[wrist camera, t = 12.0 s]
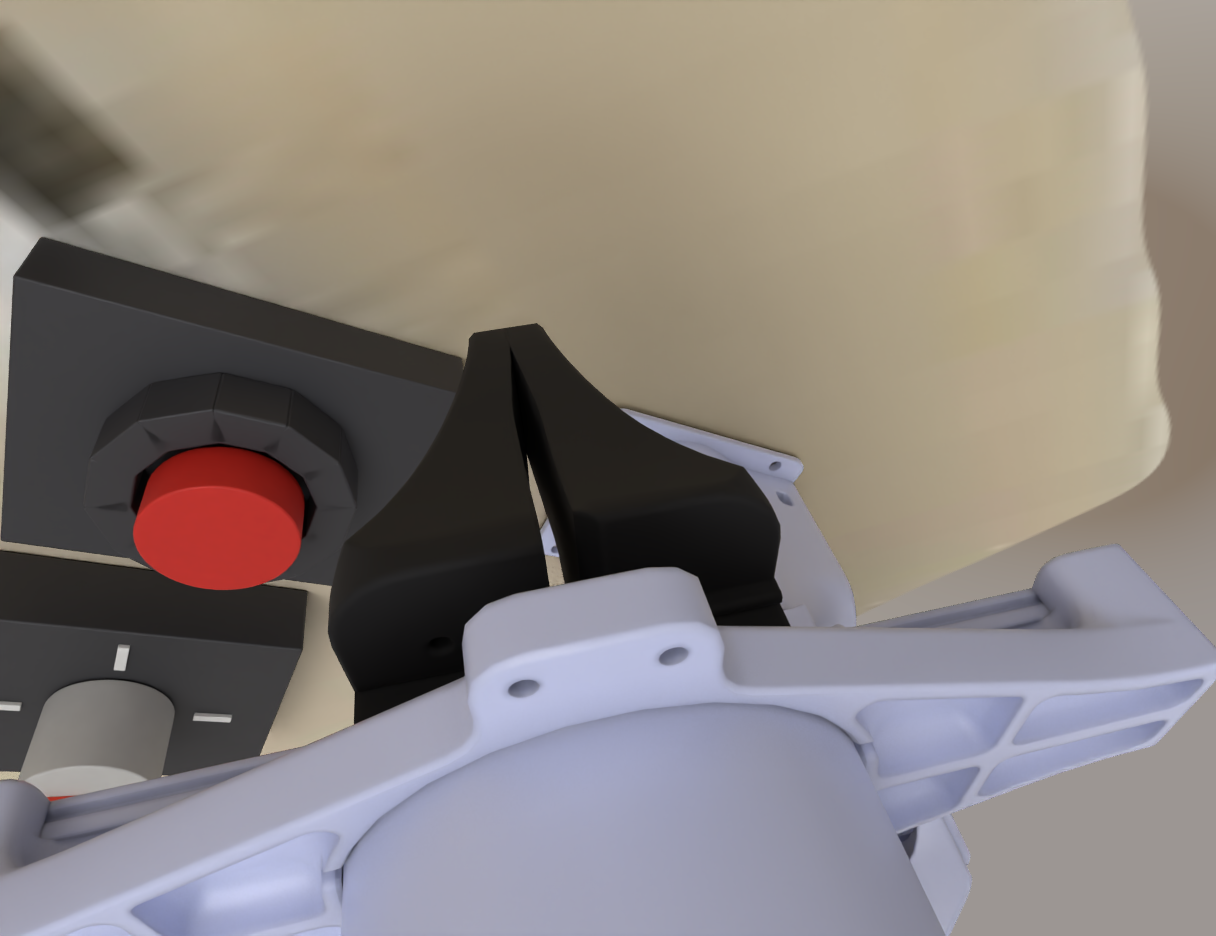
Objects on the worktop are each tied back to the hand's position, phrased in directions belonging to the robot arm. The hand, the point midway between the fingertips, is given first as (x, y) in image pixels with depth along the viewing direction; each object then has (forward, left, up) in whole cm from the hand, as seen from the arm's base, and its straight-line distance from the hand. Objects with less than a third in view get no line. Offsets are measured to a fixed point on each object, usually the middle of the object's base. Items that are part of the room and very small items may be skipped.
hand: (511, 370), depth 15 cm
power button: (+4, +11, -6) cm, 13 cm away
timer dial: (+6, +24, -7) cm, 26 cm away
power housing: (+4, +11, -10) cm, 15 cm away
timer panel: (+6, +24, -10) cm, 27 cm away
